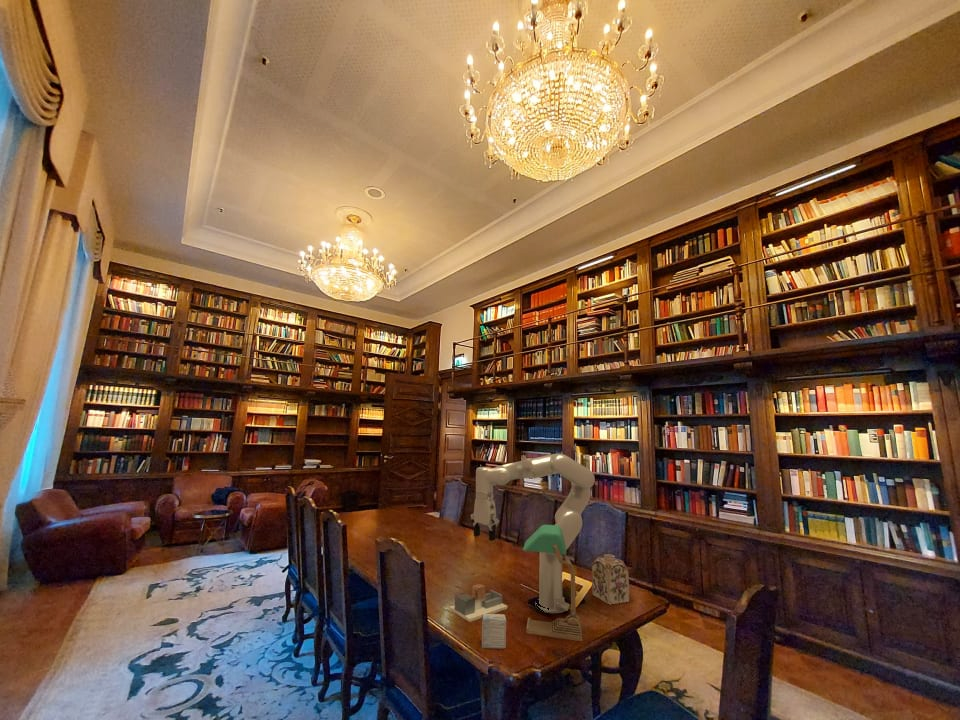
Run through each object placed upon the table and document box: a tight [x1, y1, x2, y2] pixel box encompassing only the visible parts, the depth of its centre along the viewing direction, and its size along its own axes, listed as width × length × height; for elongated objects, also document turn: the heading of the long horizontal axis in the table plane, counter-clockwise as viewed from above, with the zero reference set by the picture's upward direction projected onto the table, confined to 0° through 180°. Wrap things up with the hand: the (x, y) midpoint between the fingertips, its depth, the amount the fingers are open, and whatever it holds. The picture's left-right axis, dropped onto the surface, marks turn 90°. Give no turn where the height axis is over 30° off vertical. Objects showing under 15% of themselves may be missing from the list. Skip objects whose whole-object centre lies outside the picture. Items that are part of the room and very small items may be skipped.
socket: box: [454, 592, 475, 616], centre depth 148 cm, size 7×5×5 cm
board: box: [449, 589, 508, 623], centre depth 153 cm, size 13×20×4 cm, turn 131°
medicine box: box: [481, 613, 507, 649], centre depth 126 cm, size 8×4×9 cm, turn 92°
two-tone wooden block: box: [471, 583, 486, 609], centre depth 151 cm, size 3×11×7 cm, turn 131°
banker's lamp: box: [522, 524, 583, 642], centre depth 140 cm, size 16×21×35 cm
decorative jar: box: [591, 553, 630, 606], centre depth 170 cm, size 12×12×18 cm
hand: (484, 538), depth 161 cm, fingers open, 9 cm apart
